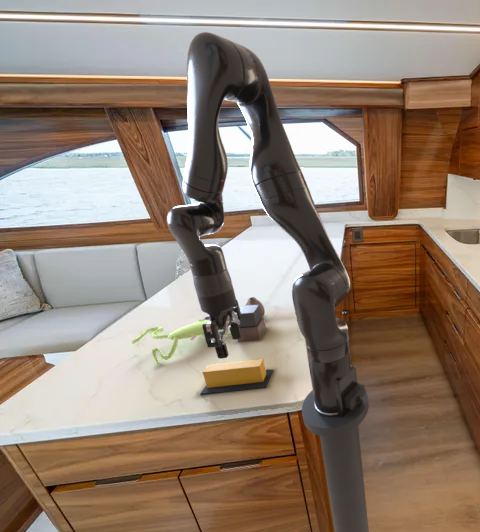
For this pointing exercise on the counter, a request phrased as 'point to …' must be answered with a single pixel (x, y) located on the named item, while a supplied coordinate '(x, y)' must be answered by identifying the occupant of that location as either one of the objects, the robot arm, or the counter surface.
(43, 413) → the counter surface
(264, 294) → the counter surface
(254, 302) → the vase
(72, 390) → the counter surface
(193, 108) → the robot arm
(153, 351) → the figurine
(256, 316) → the tower top
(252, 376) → the bar
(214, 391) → the mat
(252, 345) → the counter surface
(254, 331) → the tower base
